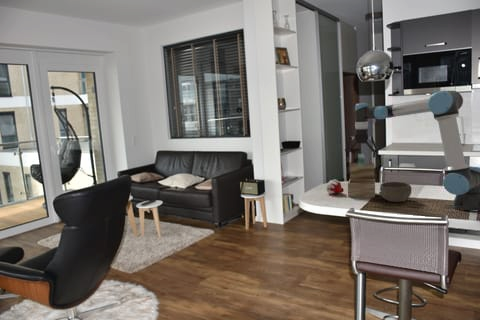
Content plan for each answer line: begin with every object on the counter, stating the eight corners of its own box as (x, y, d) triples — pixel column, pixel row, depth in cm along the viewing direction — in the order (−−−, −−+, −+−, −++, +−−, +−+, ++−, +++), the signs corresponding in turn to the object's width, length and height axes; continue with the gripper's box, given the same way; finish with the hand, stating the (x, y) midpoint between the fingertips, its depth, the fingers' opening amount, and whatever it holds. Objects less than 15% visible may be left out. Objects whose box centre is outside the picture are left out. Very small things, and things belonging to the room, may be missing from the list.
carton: (374, 197, 245) (374, 183, 244) (347, 196, 250) (347, 183, 249) (375, 192, 258) (375, 179, 257) (349, 191, 263) (349, 178, 262)
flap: (373, 158, 240) (374, 154, 243) (348, 158, 246) (348, 154, 248) (374, 181, 255) (374, 176, 258) (350, 180, 261) (350, 176, 263)
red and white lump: (332, 189, 270) (348, 196, 257) (320, 192, 264) (336, 198, 251) (333, 177, 267) (350, 183, 255) (321, 179, 262) (337, 185, 249)
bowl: (375, 201, 236) (375, 185, 234) (386, 195, 249) (386, 180, 248) (405, 205, 225) (405, 188, 223) (414, 199, 238) (415, 183, 237)
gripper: (382, 127, 243) (382, 161, 246) (341, 128, 252) (341, 161, 255) (382, 128, 236) (382, 163, 239) (340, 129, 245) (340, 163, 248)
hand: (361, 162), depth 247 cm, fingers open, 13 cm apart
